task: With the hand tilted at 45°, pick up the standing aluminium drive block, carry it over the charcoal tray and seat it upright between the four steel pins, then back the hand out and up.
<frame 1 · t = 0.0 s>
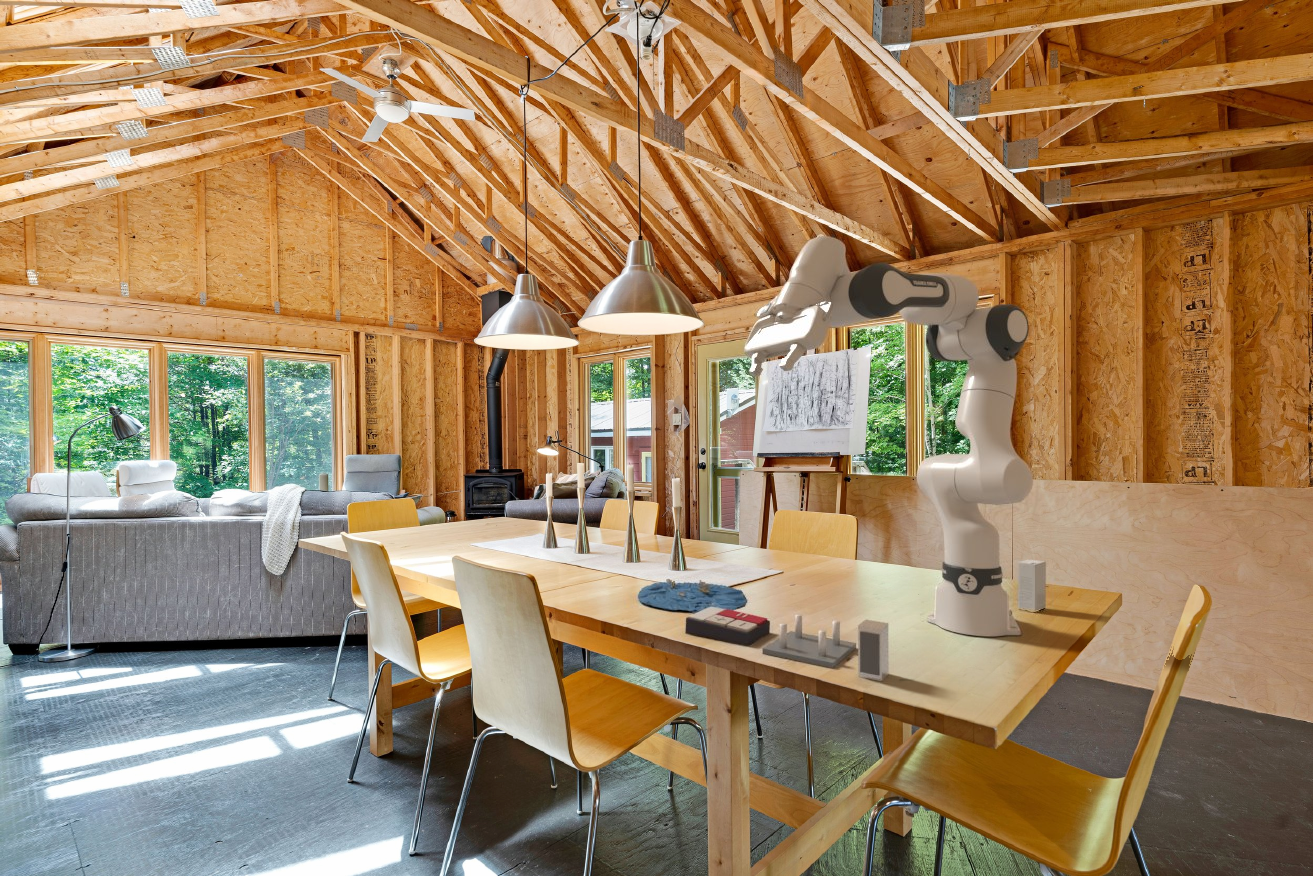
hand: (768, 372, 114), 54 cm above the table, fingers open, 8 cm apart
blue sea diorama: (694, 600, 164), on the table
pin tray: (810, 650, 122), on the table
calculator: (727, 635, 133), on the table
skincare box: (1032, 610, 153), on the table
drive: (873, 675, 109), on the table
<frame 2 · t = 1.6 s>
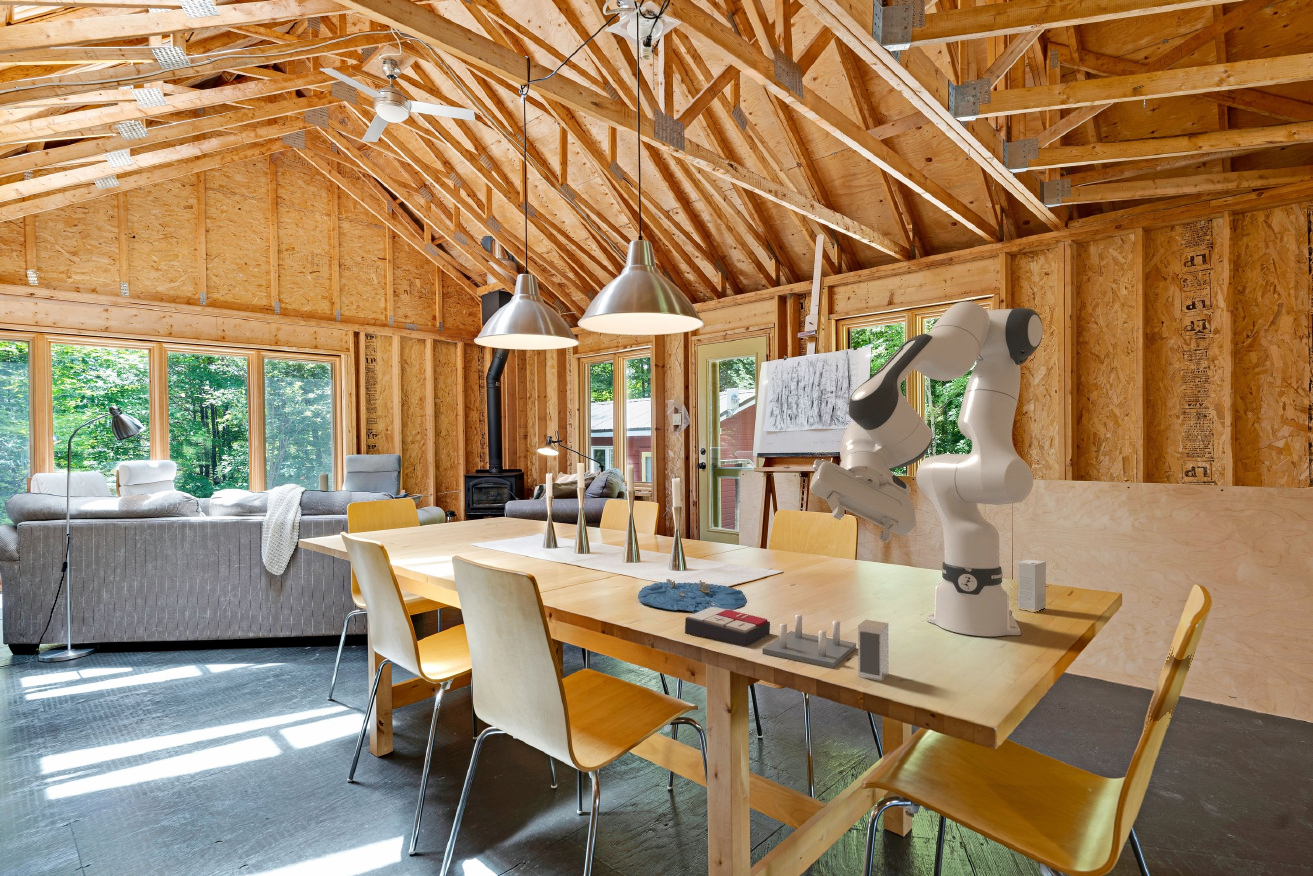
hand: (862, 527, 109), 26 cm above the table, fingers open, 8 cm apart
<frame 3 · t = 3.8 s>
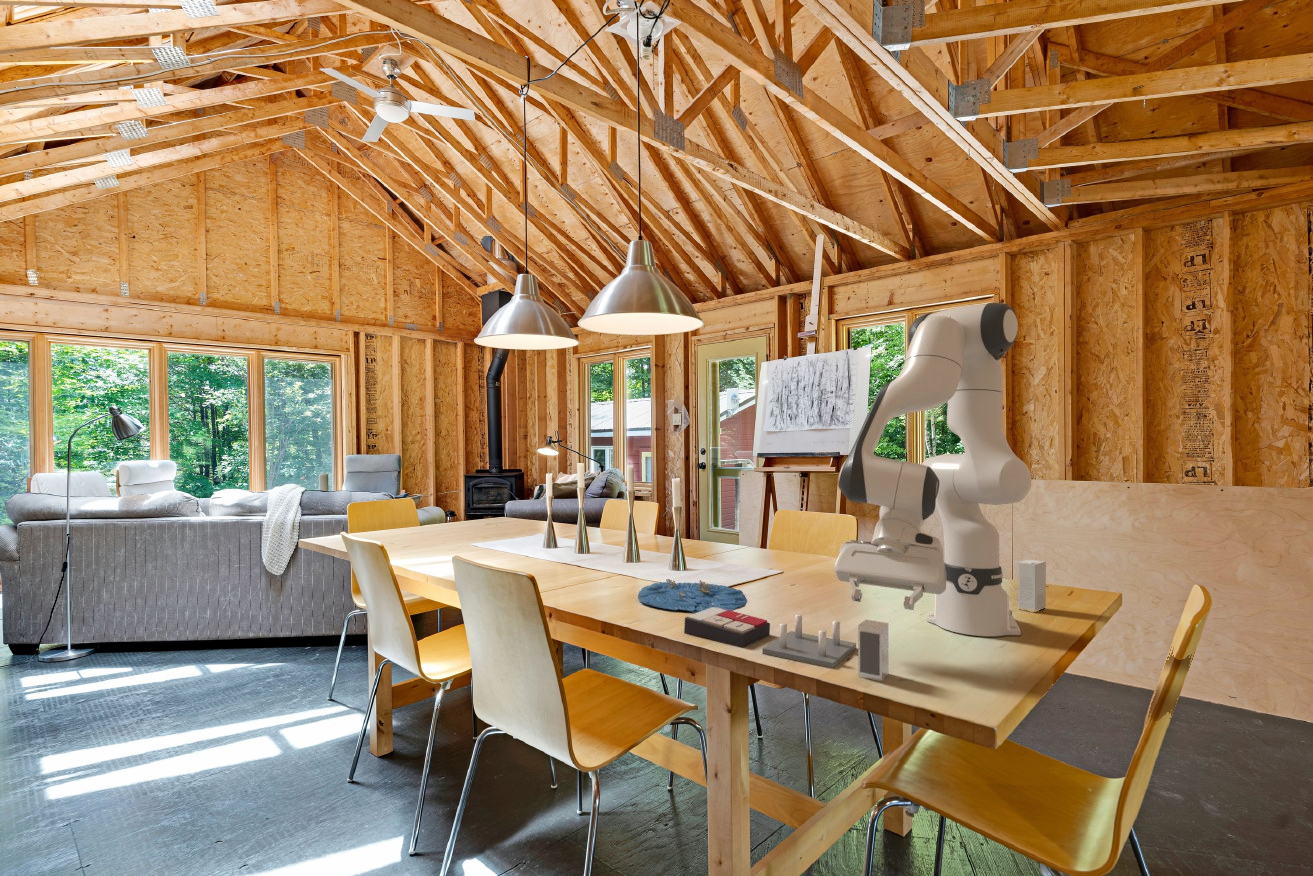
hand: (881, 603, 114), 11 cm above the table, fingers open, 8 cm apart
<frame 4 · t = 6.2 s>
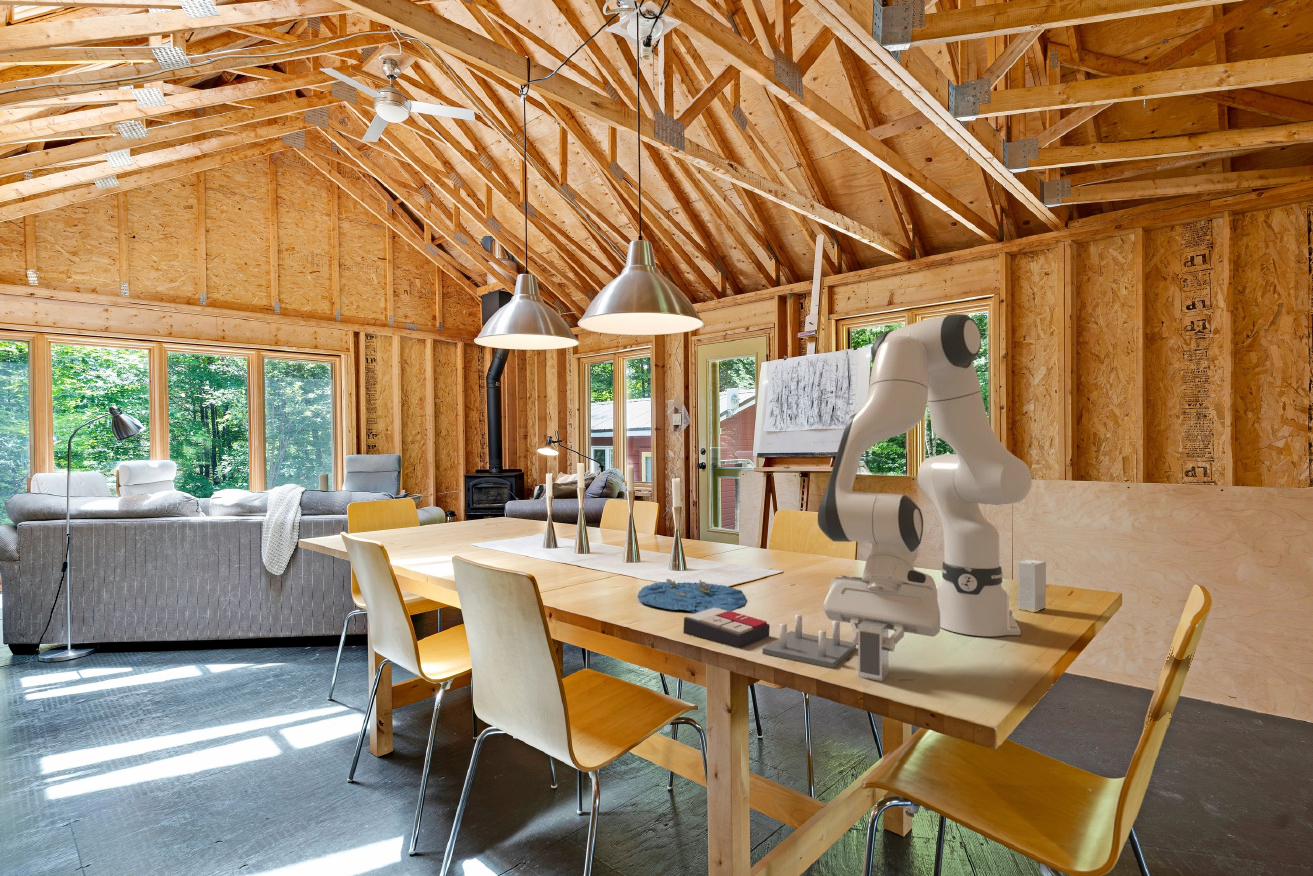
hand: (872, 646, 108), 5 cm above the table, fingers closed on drive, 4 cm apart
drive: (873, 675, 109), on the table, touching gripper
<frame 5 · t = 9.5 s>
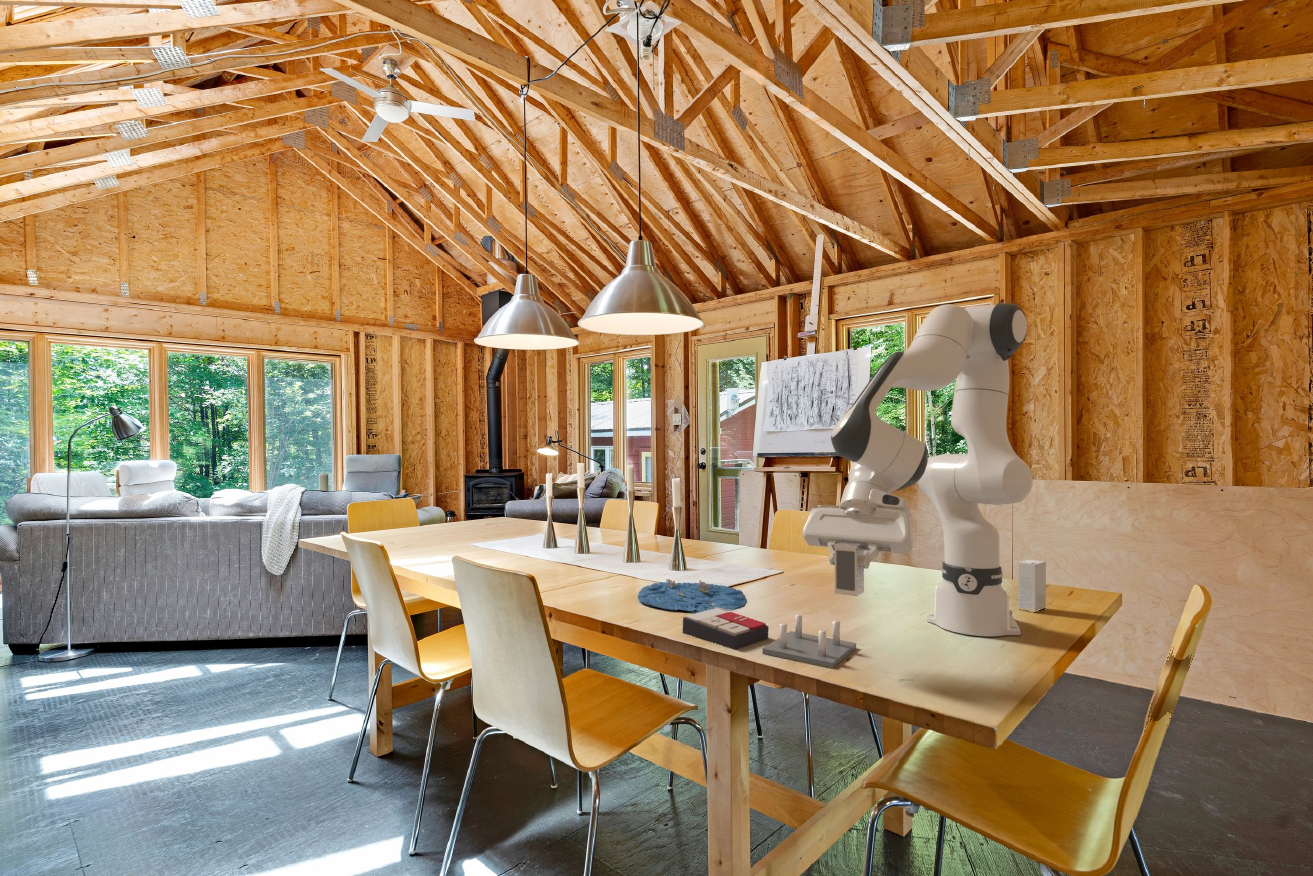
hand: (848, 565, 113), 19 cm above the table, fingers closed on drive, 4 cm apart
drive: (849, 592, 114), point 13 cm above the table, touching gripper
when the fingers open (8 cm above the table, at t = 13.3 s): drive drops 1 cm, resting on pin tray.
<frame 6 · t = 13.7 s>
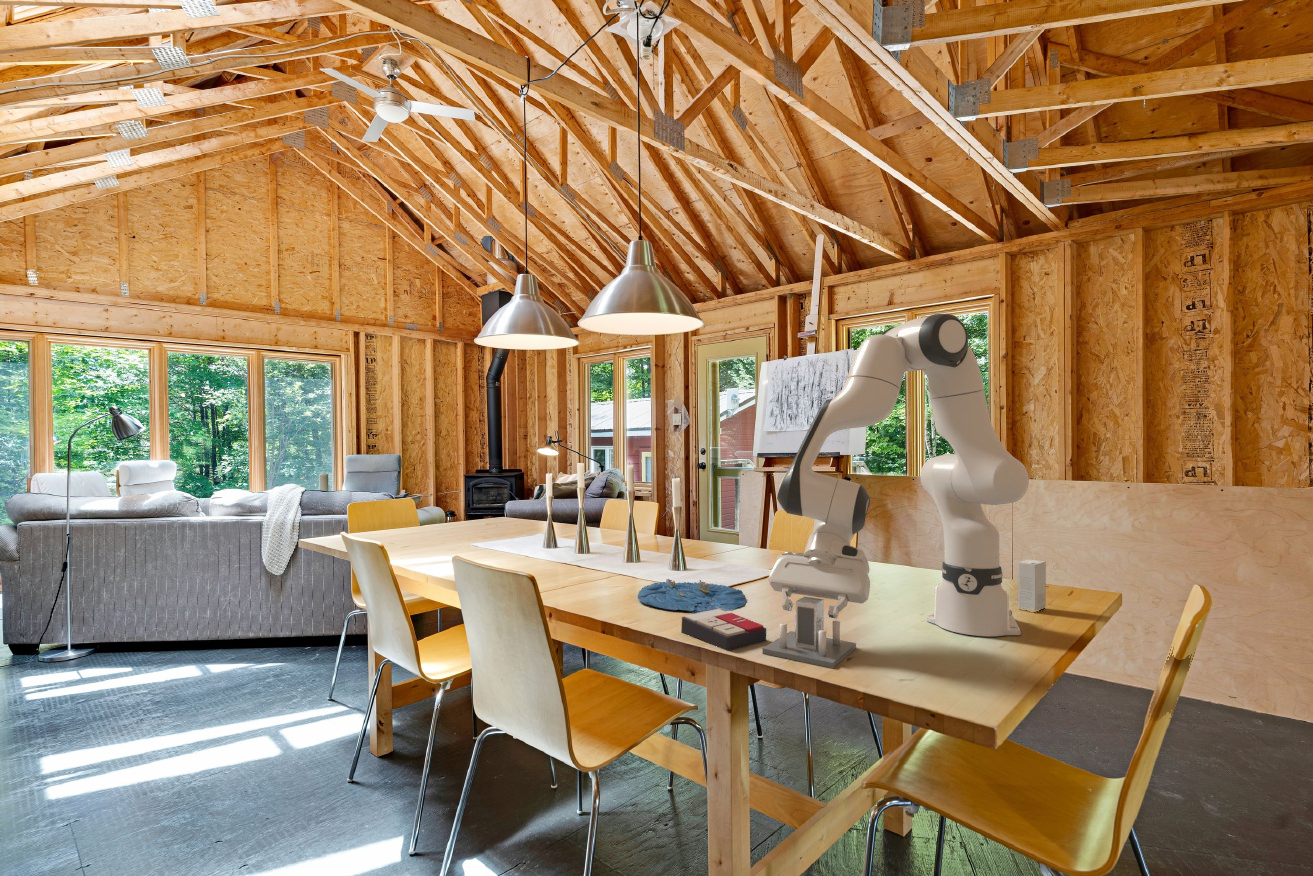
hand: (808, 612, 121), 8 cm above the table, fingers open, 8 cm apart
drive: (810, 645, 122), point 1 cm above the table, touching pin tray
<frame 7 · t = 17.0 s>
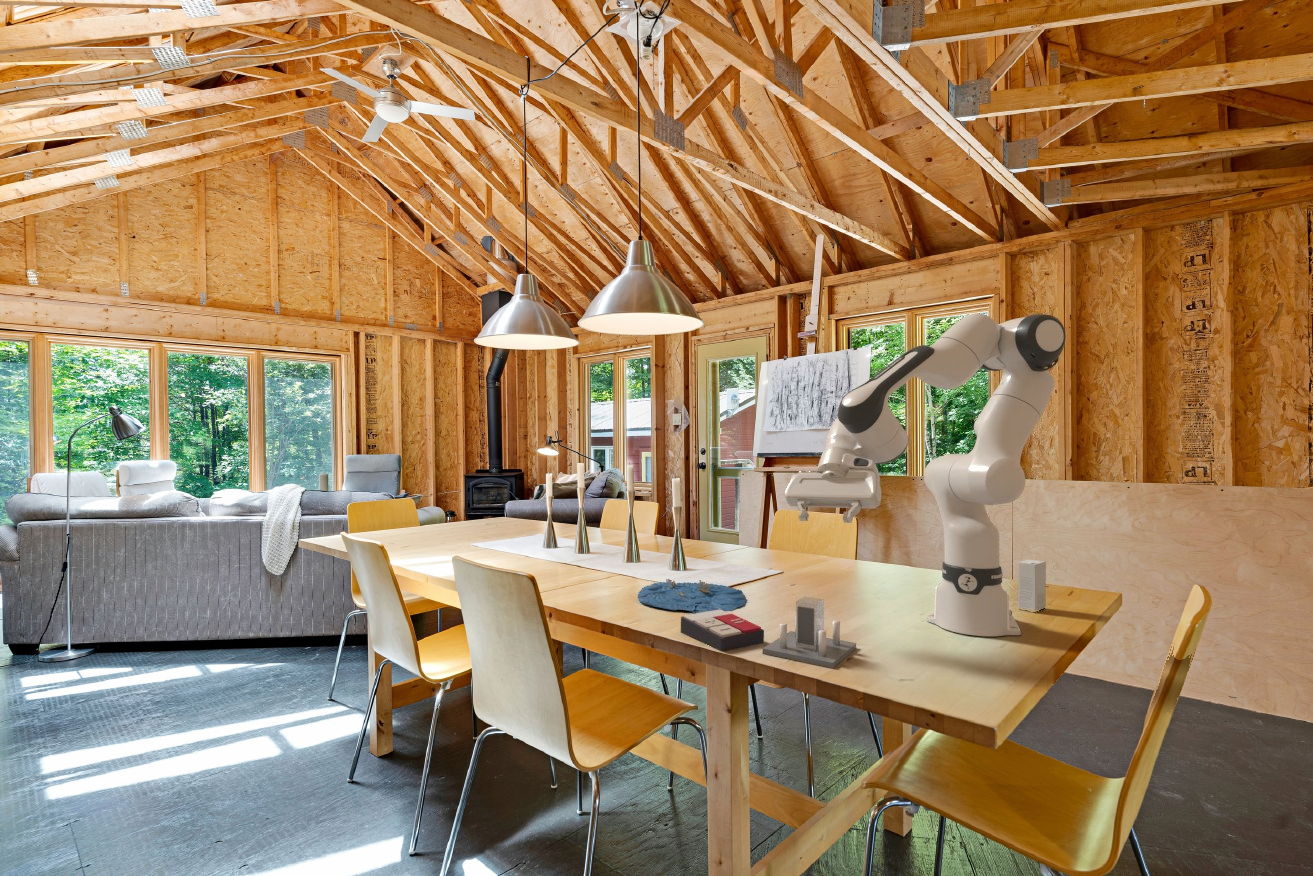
hand: (824, 520, 128), 25 cm above the table, fingers open, 8 cm apart
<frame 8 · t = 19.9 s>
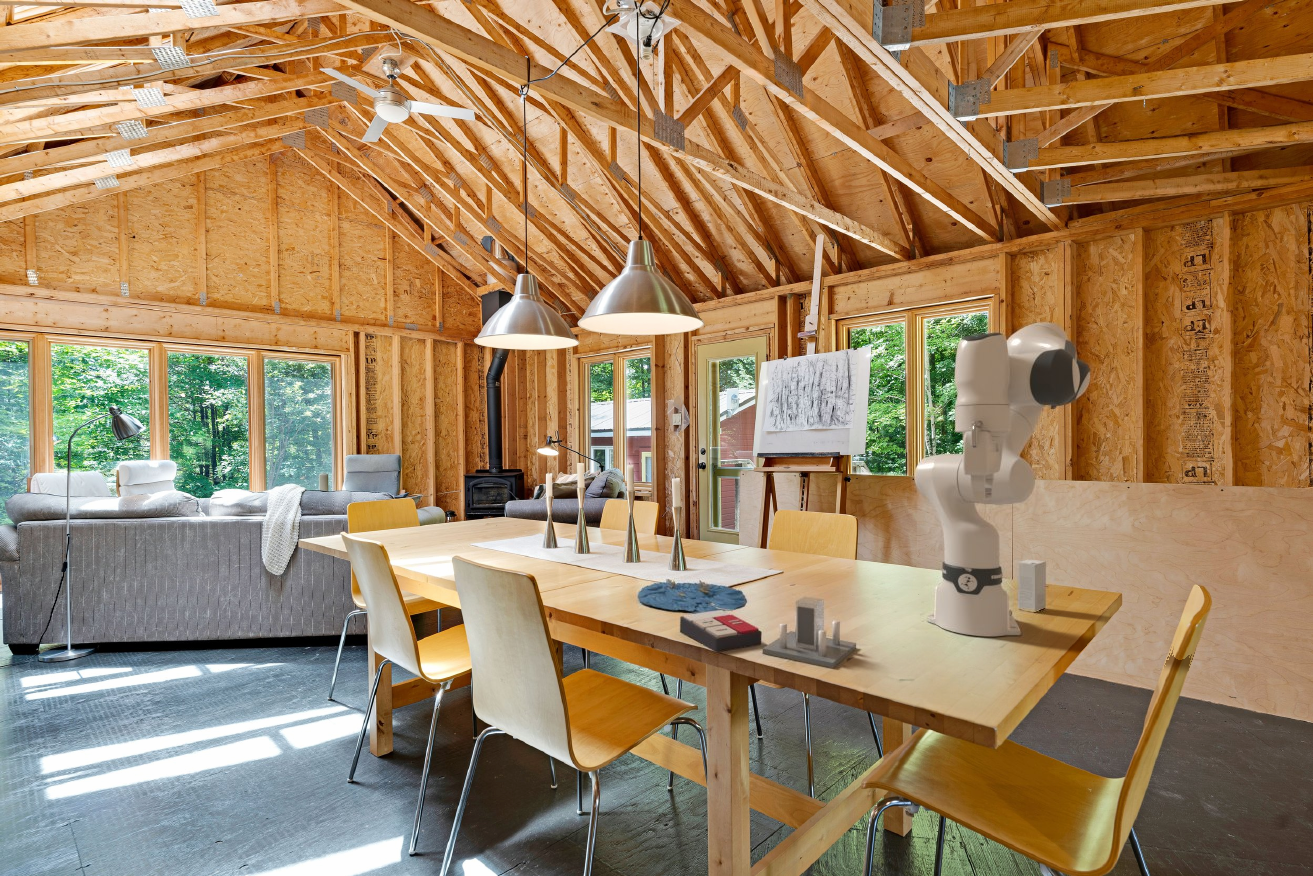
hand: (982, 499, 110), 31 cm above the table, fingers open, 8 cm apart
at the end: drive 0.0 cm off-centre on the pin tray, point 1.0 cm above the pin tray's base; drive tilted 0°; the gripper is holding nothing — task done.
